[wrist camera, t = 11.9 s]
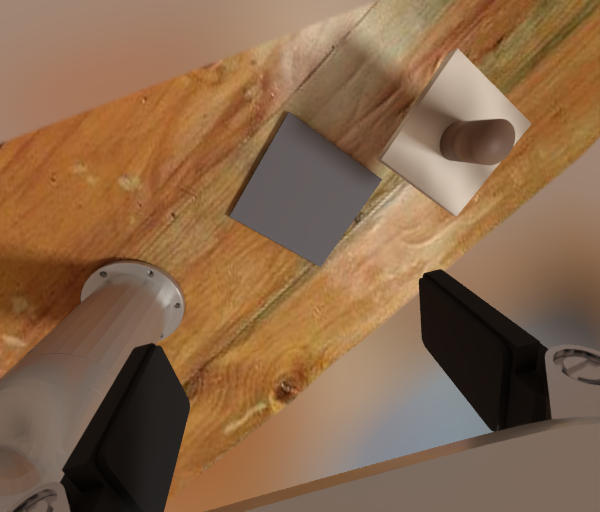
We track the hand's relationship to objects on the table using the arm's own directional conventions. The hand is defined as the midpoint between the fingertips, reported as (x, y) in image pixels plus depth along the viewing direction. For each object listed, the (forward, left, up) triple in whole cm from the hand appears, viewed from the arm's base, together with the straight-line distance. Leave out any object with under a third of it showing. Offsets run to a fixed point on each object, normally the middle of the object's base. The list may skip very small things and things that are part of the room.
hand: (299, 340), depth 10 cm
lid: (+15, -12, -21) cm, 29 cm away
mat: (+2, -4, -28) cm, 29 cm away
